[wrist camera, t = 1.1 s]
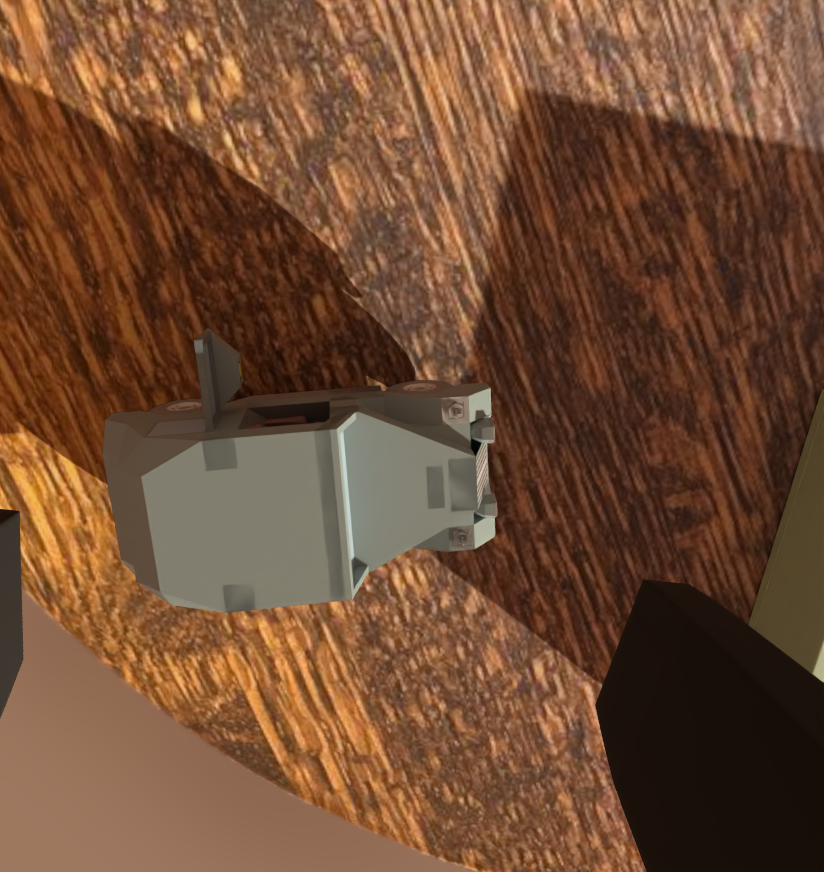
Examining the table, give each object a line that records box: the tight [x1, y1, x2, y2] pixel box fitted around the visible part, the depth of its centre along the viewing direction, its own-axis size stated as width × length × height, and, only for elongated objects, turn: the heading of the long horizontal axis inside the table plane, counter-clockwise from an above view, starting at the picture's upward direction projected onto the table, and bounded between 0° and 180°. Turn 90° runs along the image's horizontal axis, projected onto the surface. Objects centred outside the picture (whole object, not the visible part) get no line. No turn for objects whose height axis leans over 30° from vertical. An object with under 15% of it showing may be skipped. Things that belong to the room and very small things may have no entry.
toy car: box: [102, 328, 497, 613], centre depth 20 cm, size 6×10×5 cm, turn 93°
